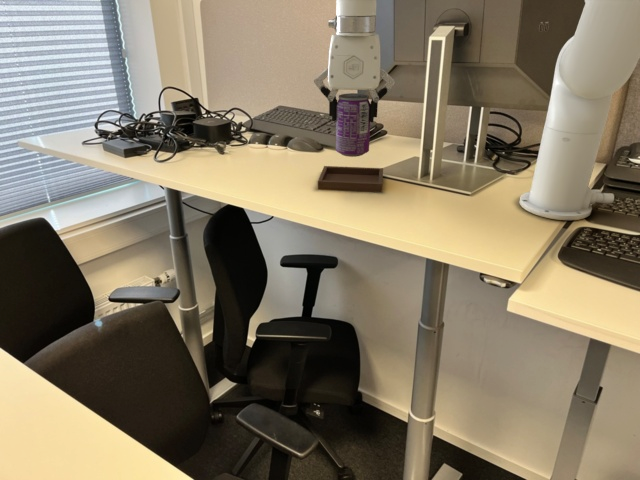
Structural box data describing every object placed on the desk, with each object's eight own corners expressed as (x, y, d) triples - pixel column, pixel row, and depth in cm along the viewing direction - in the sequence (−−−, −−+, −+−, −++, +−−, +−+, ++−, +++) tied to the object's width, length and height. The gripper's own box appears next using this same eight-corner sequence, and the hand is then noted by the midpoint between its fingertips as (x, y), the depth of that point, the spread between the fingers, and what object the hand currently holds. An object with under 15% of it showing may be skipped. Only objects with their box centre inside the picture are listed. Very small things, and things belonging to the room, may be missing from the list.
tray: (382, 176, 107) (383, 168, 106) (381, 192, 98) (382, 183, 97) (324, 173, 109) (324, 165, 108) (317, 189, 100) (317, 181, 99)
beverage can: (368, 148, 103) (371, 92, 97) (368, 158, 97) (371, 99, 91) (336, 148, 104) (337, 92, 98) (334, 158, 97) (335, 99, 92)
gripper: (307, 27, 87) (308, 123, 95) (402, 27, 84) (395, 126, 93) (313, 25, 93) (314, 115, 101) (401, 25, 91) (395, 117, 99)
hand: (353, 119), depth 97 cm, fingers closed on beverage can, 7 cm apart
